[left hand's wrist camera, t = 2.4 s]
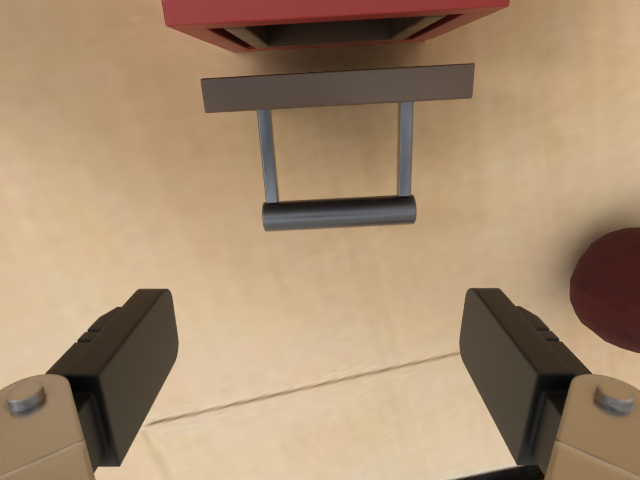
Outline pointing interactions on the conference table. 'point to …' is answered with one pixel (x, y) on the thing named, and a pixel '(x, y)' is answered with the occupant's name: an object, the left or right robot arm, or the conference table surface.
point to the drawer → (336, 92)
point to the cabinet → (314, 16)
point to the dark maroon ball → (610, 288)
